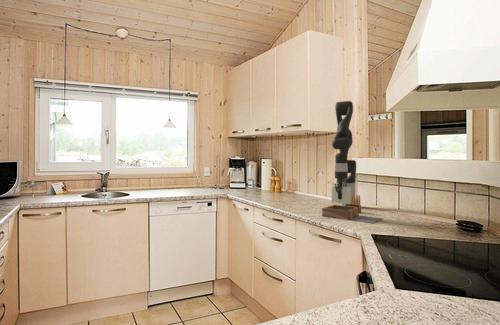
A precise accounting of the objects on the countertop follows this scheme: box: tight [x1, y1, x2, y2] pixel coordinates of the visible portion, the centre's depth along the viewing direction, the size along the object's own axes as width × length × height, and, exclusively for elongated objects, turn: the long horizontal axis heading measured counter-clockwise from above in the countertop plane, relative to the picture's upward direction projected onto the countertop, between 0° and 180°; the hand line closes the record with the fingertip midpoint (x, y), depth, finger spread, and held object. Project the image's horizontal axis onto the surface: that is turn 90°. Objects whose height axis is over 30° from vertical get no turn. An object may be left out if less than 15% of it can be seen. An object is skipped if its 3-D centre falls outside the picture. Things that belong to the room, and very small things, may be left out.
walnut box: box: [321, 204, 360, 221], centre depth 199 cm, size 16×16×5 cm
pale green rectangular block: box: [331, 185, 351, 205], centre depth 199 cm, size 2×11×10 cm, turn 51°
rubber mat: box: [350, 215, 383, 225], centre depth 188 cm, size 16×13×1 cm
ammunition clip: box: [346, 193, 362, 214], centre depth 212 cm, size 11×2×12 cm, turn 37°
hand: (340, 198), depth 199 cm, fingers closed on pale green rectangular block, 2 cm apart
